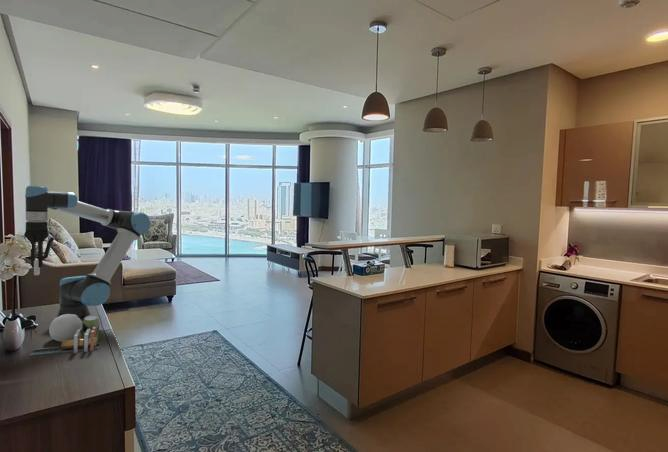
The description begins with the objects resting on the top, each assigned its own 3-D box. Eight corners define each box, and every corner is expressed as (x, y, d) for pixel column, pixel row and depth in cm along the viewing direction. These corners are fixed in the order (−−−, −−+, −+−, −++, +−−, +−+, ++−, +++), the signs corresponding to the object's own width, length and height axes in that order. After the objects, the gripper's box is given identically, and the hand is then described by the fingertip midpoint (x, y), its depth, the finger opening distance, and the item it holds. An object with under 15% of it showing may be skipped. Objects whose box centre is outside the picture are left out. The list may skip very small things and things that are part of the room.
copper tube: (60, 350, 152) (61, 339, 153) (62, 350, 155) (63, 340, 156) (95, 346, 157) (96, 336, 158) (96, 347, 160) (97, 337, 162)
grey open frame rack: (34, 352, 153) (34, 348, 153) (99, 345, 163) (100, 341, 163) (27, 360, 145) (27, 356, 145) (97, 353, 155) (97, 348, 155)
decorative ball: (86, 340, 168) (87, 314, 167) (54, 348, 158) (55, 320, 157) (76, 334, 175) (76, 309, 174) (44, 341, 165) (45, 314, 164)
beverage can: (96, 339, 170) (97, 313, 170) (100, 343, 165) (101, 317, 164) (80, 342, 166) (80, 315, 165) (84, 347, 161) (84, 319, 160)
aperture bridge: (93, 344, 161) (93, 326, 161) (95, 344, 162) (96, 326, 162) (90, 351, 154) (90, 332, 154) (93, 350, 155) (93, 332, 154)
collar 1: (77, 345, 159) (77, 328, 159) (81, 345, 160) (81, 328, 160) (73, 353, 151) (74, 335, 151) (77, 352, 152) (77, 335, 152)
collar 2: (87, 344, 161) (87, 328, 161) (90, 344, 162) (90, 327, 161) (84, 352, 153) (84, 334, 153) (87, 351, 153) (87, 334, 153)
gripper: (15, 221, 157) (15, 277, 159) (53, 222, 163) (53, 275, 164) (20, 220, 164) (20, 273, 165) (56, 221, 170) (56, 272, 171)
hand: (36, 274), depth 165 cm, fingers closed
